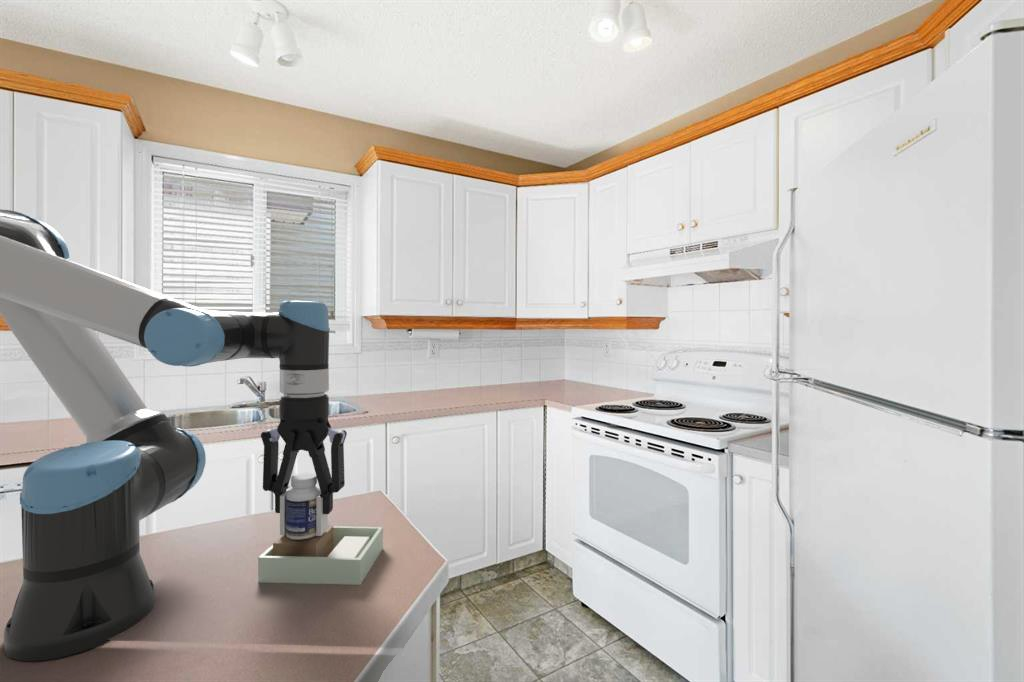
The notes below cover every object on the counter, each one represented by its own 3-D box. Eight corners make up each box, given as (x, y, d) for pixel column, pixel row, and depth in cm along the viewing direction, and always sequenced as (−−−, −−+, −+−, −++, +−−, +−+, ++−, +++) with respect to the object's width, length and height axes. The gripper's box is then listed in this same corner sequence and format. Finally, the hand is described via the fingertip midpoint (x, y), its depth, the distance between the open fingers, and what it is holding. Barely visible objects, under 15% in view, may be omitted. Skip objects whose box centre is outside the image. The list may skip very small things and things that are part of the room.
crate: (258, 585, 74) (258, 557, 74) (294, 549, 86) (294, 525, 86) (360, 588, 74) (360, 559, 73) (382, 551, 86) (382, 527, 85)
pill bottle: (312, 541, 77) (313, 481, 77) (279, 540, 77) (280, 480, 77) (326, 527, 82) (326, 471, 82) (295, 526, 82) (295, 470, 82)
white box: (325, 576, 76) (325, 558, 76) (344, 553, 84) (344, 536, 84) (353, 577, 76) (353, 559, 76) (369, 553, 84) (369, 536, 84)
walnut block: (272, 573, 76) (272, 543, 76) (293, 553, 83) (293, 525, 83) (316, 575, 76) (316, 544, 76) (333, 554, 83) (333, 526, 83)
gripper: (236, 396, 75) (236, 540, 76) (351, 398, 75) (350, 543, 76) (262, 390, 83) (262, 521, 84) (366, 392, 83) (365, 524, 83)
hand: (304, 531), depth 80 cm, fingers closed on pill bottle, 5 cm apart
